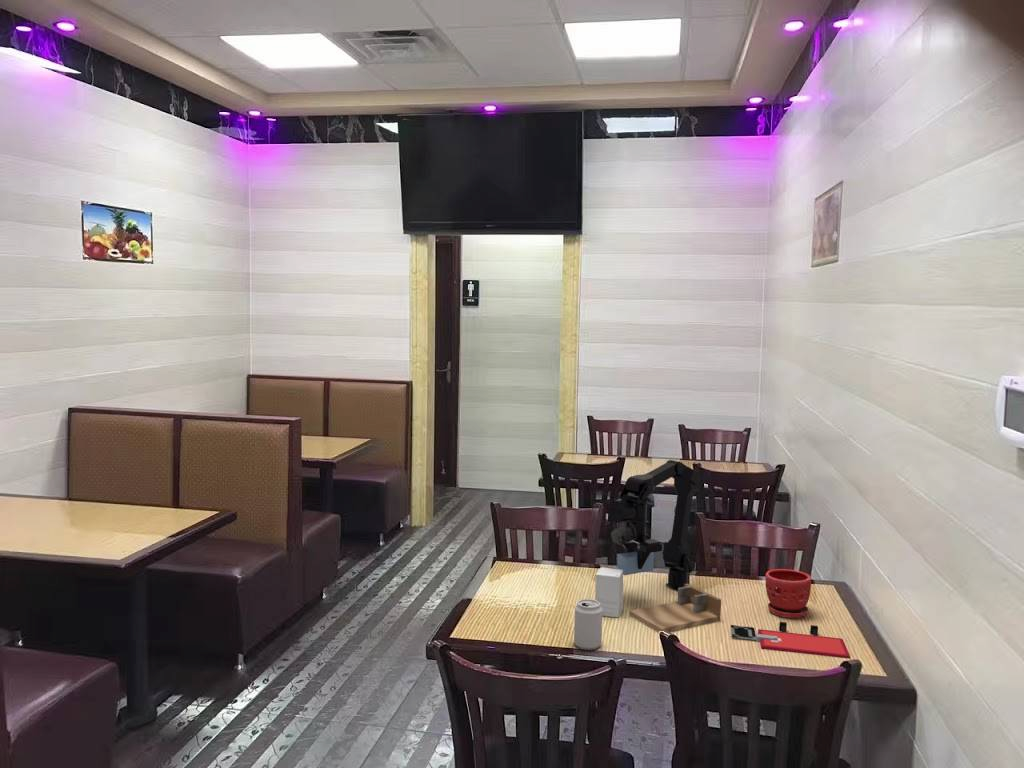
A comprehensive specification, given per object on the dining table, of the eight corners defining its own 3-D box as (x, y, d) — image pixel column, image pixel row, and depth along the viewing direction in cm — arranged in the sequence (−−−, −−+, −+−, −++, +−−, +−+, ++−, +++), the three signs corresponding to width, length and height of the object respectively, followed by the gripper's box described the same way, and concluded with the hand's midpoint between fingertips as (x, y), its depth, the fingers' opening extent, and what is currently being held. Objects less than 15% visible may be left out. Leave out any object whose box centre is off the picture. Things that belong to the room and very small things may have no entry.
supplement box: (623, 609, 237) (624, 569, 236) (618, 618, 230) (619, 576, 229) (599, 606, 239) (600, 566, 238) (594, 614, 233) (595, 573, 231)
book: (645, 566, 246) (646, 549, 246) (653, 570, 243) (654, 553, 242) (617, 571, 241) (617, 554, 241) (624, 575, 238) (625, 557, 237)
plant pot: (810, 609, 240) (812, 571, 239) (807, 624, 228) (809, 584, 227) (766, 601, 245) (768, 565, 244) (761, 616, 234) (763, 577, 233)
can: (571, 639, 214) (572, 597, 213) (598, 639, 215) (599, 597, 214) (576, 651, 207) (577, 607, 206) (604, 650, 208) (605, 607, 206)
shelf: (686, 603, 243) (687, 583, 242) (720, 620, 229) (721, 599, 229) (629, 615, 232) (630, 594, 232) (661, 634, 219) (662, 611, 219)
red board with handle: (730, 625, 227) (732, 647, 212) (730, 616, 226) (733, 637, 212) (839, 637, 220) (850, 661, 205) (840, 628, 219) (850, 651, 205)
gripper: (598, 513, 245) (597, 561, 246) (634, 528, 229) (632, 579, 230) (627, 510, 250) (625, 557, 252) (664, 524, 234) (662, 574, 235)
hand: (635, 566), depth 242 cm, fingers closed on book, 4 cm apart
